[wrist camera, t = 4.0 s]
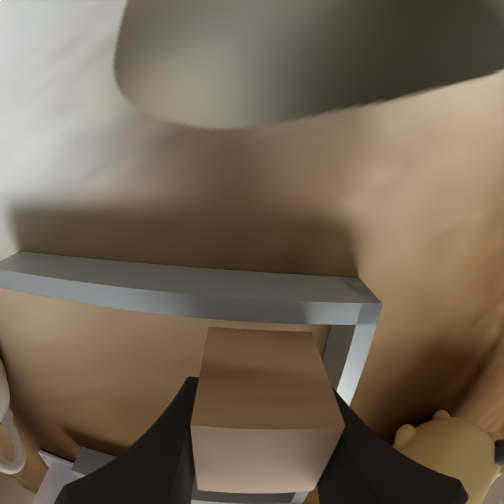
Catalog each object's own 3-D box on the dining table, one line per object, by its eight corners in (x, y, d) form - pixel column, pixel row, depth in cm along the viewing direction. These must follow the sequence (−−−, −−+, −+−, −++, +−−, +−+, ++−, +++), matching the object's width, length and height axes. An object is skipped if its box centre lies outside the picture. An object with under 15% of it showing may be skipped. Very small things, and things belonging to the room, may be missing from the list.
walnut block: (295, 402, 12) (312, 490, 8) (209, 399, 12) (198, 490, 8) (311, 331, 11) (345, 425, 7) (209, 326, 11) (190, 425, 6)
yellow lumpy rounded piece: (434, 456, 20) (470, 527, 10) (336, 470, 20) (361, 570, 9) (488, 385, 18) (547, 459, 8) (391, 393, 17) (454, 516, 7)
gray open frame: (296, 479, 20) (300, 506, 17) (84, 452, 19) (74, 475, 16) (358, 277, 14) (382, 303, 11) (20, 251, 13) (-11, 267, 11)
